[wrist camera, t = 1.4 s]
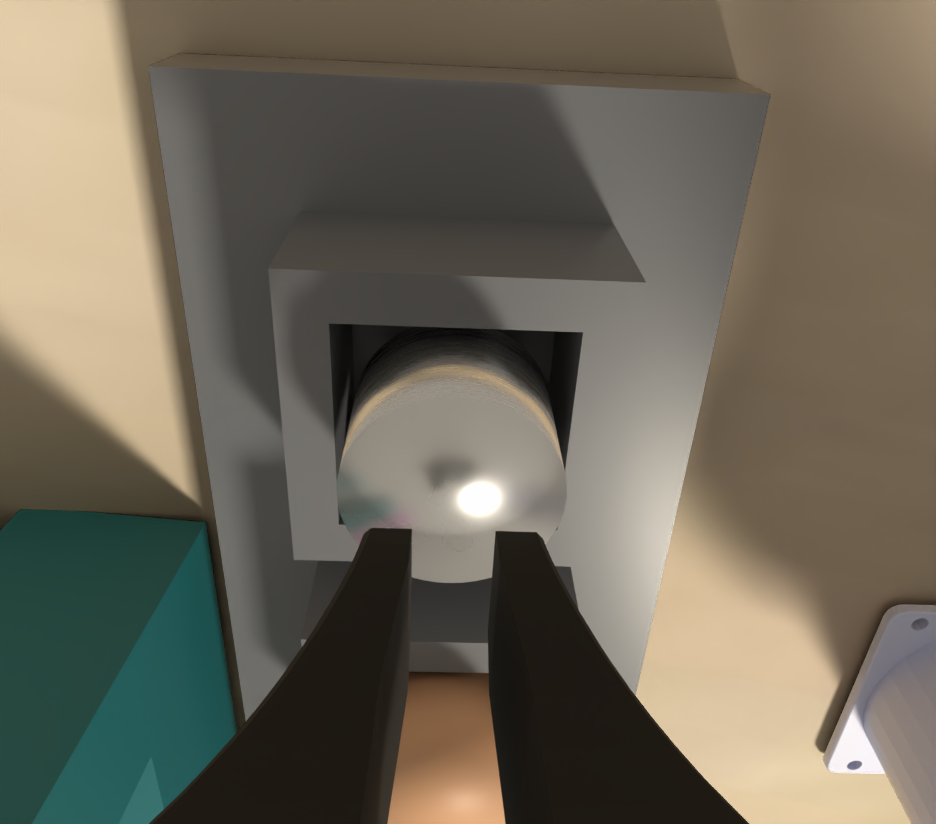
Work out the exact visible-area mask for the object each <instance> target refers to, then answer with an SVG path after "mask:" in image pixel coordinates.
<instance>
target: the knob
mask: <svg viewBox="0 0 936 824" xmlns="http://www.w3.org/2000/svg"><path fill="white" fill-rule="evenodd" d="M566 497H567V484H566V475H565V470H564V465H563V461H562V456H561V451H560V446H559V441H558V436H557V431H556V427H555V422H554V417H553V412H552V407H551V402H550V397H549V392H548V388H547V385H546V381H545V378H544V376H543V374H542V371H541V369H540V368H539V366H538V364H537V363H536V361H535V360H534V358H533V357H532V356H531V355H530V354H529V352H528V351H527V350H526V349H525V348H524V347H522V346H521V345H520V344H519V343H518V342H517V341H515V340H514V339H512V338H511V337H509V336H508V335H506V334H504V333H502V332H500V331H498V330H496V329H472V328H443V327H413V328H411V329H408V330H406V331H404V332H402V333H400V334H398V335H397V336H395V337H393V338H392V339H391V340H389V341H388V342H387V343H385V344H384V345H383V346H382V347H381V348H380V349H379V350H378V351H377V352H376V353H375V354H374V355H373V356H372V358H371V359H370V360H369V362H368V363H367V365H366V367H365V369H364V370H363V372H362V374H361V377H360V380H359V383H358V386H357V391H356V395H355V400H354V404H353V409H352V414H351V418H350V423H349V427H348V432H347V437H346V441H345V446H344V450H343V455H342V459H341V464H340V469H339V474H338V479H337V501H338V507H339V511H340V514H341V517H342V520H343V522H344V524H345V526H346V528H347V530H348V531H349V533H350V534H351V536H352V537H353V539H354V540H355V541H356V542H357V543H358V545H360V542H361V540H362V537H363V534H364V533H365V532H366V531H368V530H369V529H370V528H398V529H412V577H413V578H417V579H420V580H426V581H431V582H441V583H464V582H472V581H478V580H483V579H487V578H491V577H492V570H493V557H494V545H495V532H496V531H514V532H537V533H538V534H539V535H540V536H541V537H542V538H543V540H544V543H545V544H546V543H547V542H548V540H549V539H550V538H551V536H552V535H553V534H554V532H555V530H556V528H557V527H558V525H559V523H560V521H561V518H562V515H563V513H564V509H565V504H566Z"/></svg>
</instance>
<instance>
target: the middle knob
mask: <svg viewBox="0 0 936 824" xmlns="http://www.w3.org/2000/svg"><path fill="white" fill-rule="evenodd" d="M387 824H505V816H504V808H503V800H502V793H501V785H500V777H499V769H498V761H497V754H496V746H495V738H494V730H493V722H492V714H491V706H490V697H489V673H463V672H412V671H409V676H408V693H407V699H406V706H405V713H404V719H403V726H402V732H401V739H400V745H399V752H398V758H397V765H396V771H395V778H394V784H393V791H392V797H391V803H390V810H389V816H388V823H387Z"/></svg>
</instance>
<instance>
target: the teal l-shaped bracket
mask: <svg viewBox="0 0 936 824" xmlns="http://www.w3.org/2000/svg"><path fill="white" fill-rule="evenodd" d="M236 733H237V731H236V724H235V717H234V710H233V704H232V697H231V690H230V683H229V677H228V670H227V663H226V656H225V650H224V643H223V636H222V629H221V622H220V616H219V609H218V602H217V595H216V589H215V582H214V575H213V568H212V562H211V555H210V548H209V541H208V535H207V528H206V522H195V521H184V520H173V519H162V518H151V517H140V516H129V515H118V514H107V513H96V512H85V511H62V510H31V509H20V510H19V511H18V512H17V513H16V514H15V515H14V516H13V517H12V519H11V520H10V521H9V522H8V523H7V524H6V525H5V526H4V527H3V528H2V529H1V531H0V824H149V823H150V822H151V821H152V820H153V819H154V818H155V817H156V816H157V815H158V814H159V813H160V812H161V811H163V810H164V809H165V808H166V807H167V806H168V805H169V804H170V803H171V802H172V801H173V800H174V799H175V798H176V797H177V796H178V795H179V794H180V793H181V792H182V791H183V790H184V789H185V788H186V787H187V786H188V785H189V784H190V783H191V782H192V781H193V780H194V779H195V778H196V777H197V776H198V775H199V774H200V773H201V772H202V770H203V769H204V768H205V767H206V766H207V765H208V764H209V763H210V762H211V760H212V759H213V758H214V757H215V756H216V755H217V754H218V753H219V752H220V751H221V749H222V748H223V747H224V746H225V745H226V744H227V743H228V742H229V741H230V740H231V738H232V737H233V736H234V735H235V734H236Z"/></svg>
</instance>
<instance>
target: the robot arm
mask: <svg viewBox="0 0 936 824" xmlns="http://www.w3.org/2000/svg"><path fill="white" fill-rule="evenodd" d="M411 580H412V529H398V528H370V529H369V530H368V531H366V532H365V533H364V534H363V537H362V540H361V542H360V545H359V547H358V550H357V552H356V554H355V556H354V559H353V561H352V563H351V565H350V567H349V569H348V571H347V573H346V575H345V577H344V578H343V580H342V582H341V584H340V586H339V588H338V590H337V591H336V593H335V595H334V597H333V598H332V600H331V602H330V603H329V605H328V607H327V608H326V610H325V612H324V613H323V615H322V617H321V618H320V620H319V621H318V623H317V625H316V626H315V628H314V630H313V631H312V633H311V634H310V636H309V637H308V639H307V640H306V642H305V643H304V645H303V646H302V647H301V649H300V650H299V652H298V653H297V655H296V656H295V658H294V659H293V660H292V662H291V663H290V665H289V666H288V668H287V669H286V670H285V672H284V673H283V675H282V676H281V678H280V679H279V680H278V682H277V683H276V684H275V686H274V687H273V688H272V689H271V691H270V692H269V693H268V695H267V696H266V697H265V699H264V700H263V701H262V702H261V704H260V705H259V706H258V707H257V709H256V710H255V711H254V712H253V713H252V715H251V716H250V717H249V718H248V720H247V721H246V722H245V723H244V724H243V726H242V727H241V728H240V729H239V730H238V732H237V733H236V734H235V735H234V736H233V737H232V738H231V740H230V741H229V742H228V743H227V744H226V745H225V746H224V747H223V748H222V749H221V751H220V752H219V753H218V754H217V755H216V756H215V757H214V758H213V759H212V760H211V762H210V763H209V764H208V765H207V766H206V767H205V768H204V769H203V770H202V772H201V773H200V774H199V775H198V776H197V777H196V778H195V779H194V780H193V781H192V782H191V783H190V784H189V785H188V786H187V787H186V788H185V789H184V790H183V791H182V792H181V793H180V794H179V795H178V796H177V797H176V798H175V799H174V800H173V801H172V802H171V803H170V804H169V805H168V806H167V807H166V808H165V809H164V810H163V811H161V812H160V813H159V814H158V815H157V816H156V817H155V818H154V819H153V820H152V821H151V822H150V823H149V824H387V823H388V816H389V810H390V803H391V797H392V791H393V784H394V778H395V771H396V765H397V758H398V752H399V745H400V739H401V732H402V726H403V719H404V713H405V706H406V699H407V693H408V676H409V657H410V637H411ZM488 671H489V697H490V706H491V714H492V722H493V730H494V738H495V746H496V754H497V761H498V769H499V777H500V785H501V793H502V800H503V808H504V816H505V824H749V823H748V822H747V821H746V820H745V819H744V818H743V817H742V816H741V815H740V814H739V813H738V812H737V811H736V810H735V809H734V808H733V807H732V806H731V805H730V804H729V803H728V802H727V801H726V800H725V799H724V798H723V797H722V796H721V795H720V794H719V793H718V792H717V791H716V790H715V789H714V788H713V787H712V786H711V785H710V784H709V783H708V782H707V781H706V780H705V779H704V777H703V776H702V775H701V774H700V773H699V772H698V771H697V770H696V769H695V767H694V766H693V765H692V764H691V763H690V762H689V761H688V759H687V758H686V757H685V756H684V755H683V754H682V753H681V752H680V750H679V749H678V748H677V747H676V746H675V745H674V744H673V742H672V741H671V740H670V739H669V737H668V736H667V735H666V734H665V733H664V731H663V730H662V729H661V728H660V727H659V725H658V724H657V723H656V722H655V720H654V719H653V718H652V717H651V715H650V714H649V713H648V712H647V710H646V709H645V708H644V706H643V705H642V704H641V703H640V701H639V700H638V699H637V697H636V696H635V694H634V693H633V692H632V690H631V689H630V688H629V686H628V685H627V683H626V682H625V681H624V679H623V678H622V676H621V675H620V674H619V672H618V671H617V669H616V668H615V666H614V665H613V664H612V662H611V661H610V659H609V658H608V656H607V655H606V653H605V652H604V650H603V649H602V647H601V646H600V644H599V642H598V641H597V639H596V638H595V636H594V634H593V633H592V631H591V629H590V628H589V626H588V625H587V623H586V621H585V620H584V618H583V616H582V615H581V613H580V612H579V610H578V608H577V606H576V605H575V603H574V601H573V599H572V598H571V596H570V594H569V592H568V590H567V588H566V586H565V585H564V583H563V581H562V579H561V577H560V575H559V573H558V571H557V569H556V567H555V565H554V563H553V561H552V559H551V557H550V554H549V552H548V550H547V548H546V545H545V543H544V540H543V538H542V537H541V536H540V535H539V534H538V533H537V532H514V531H496V532H495V545H494V557H493V570H492V583H491V595H490V608H489V620H488ZM823 761H824V763H825V765H826V767H827V769H828V770H829V771H831V772H835V773H874V774H886V775H887V777H888V779H889V781H890V783H891V785H892V787H893V789H894V791H895V793H896V795H897V797H898V799H899V801H900V802H901V804H902V806H903V808H904V810H905V812H906V814H907V816H908V818H909V820H910V822H911V824H936V605H909V604H902V605H896V606H893V607H891V608H890V609H889V610H887V611H886V613H885V614H884V616H883V618H882V620H881V623H880V625H879V627H878V630H877V632H876V634H875V637H874V639H873V641H872V644H871V646H870V648H869V651H868V653H867V655H866V658H865V660H864V662H863V665H862V667H861V669H860V672H859V674H858V676H857V679H856V681H855V683H854V686H853V688H852V690H851V693H850V695H849V697H848V700H847V702H846V704H845V707H844V709H843V711H842V714H841V716H840V718H839V721H838V723H837V725H836V728H835V730H834V732H833V735H832V737H831V739H830V742H829V744H828V746H827V749H826V751H825V753H824V756H823Z"/></svg>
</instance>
